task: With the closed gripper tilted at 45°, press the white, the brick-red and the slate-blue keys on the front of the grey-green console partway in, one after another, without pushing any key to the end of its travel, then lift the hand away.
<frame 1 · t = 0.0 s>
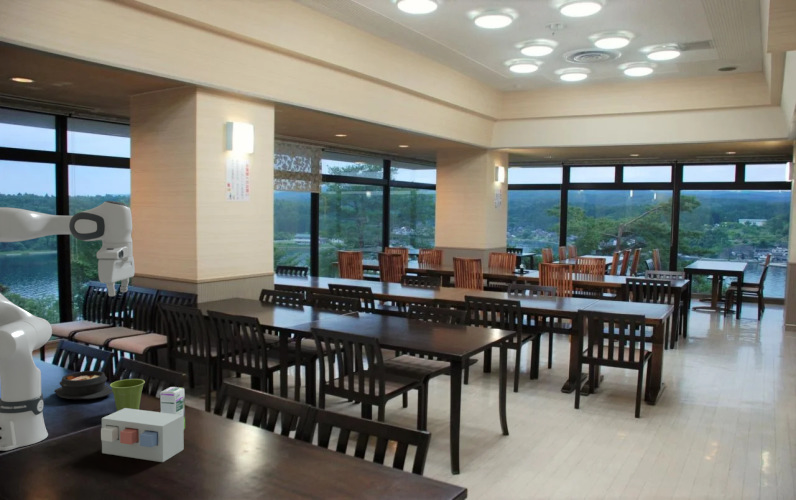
hand: (118, 293, 189), 48 cm above the table, tool pointing down, fingers open, 8 cm apart
key console: (143, 451, 182), on the table
syrup box: (173, 431, 199), on the table
plant pot: (127, 413, 216), on the table
blue key: (149, 439, 174), point 7 cm above the table, slide at 0.0 cm
red key: (129, 436, 176), point 7 cm above the table, slide at 0.0 cm
white key: (110, 433, 178), point 7 cm above the table, slide at 0.0 cm
casserole: (84, 396, 235), on the table
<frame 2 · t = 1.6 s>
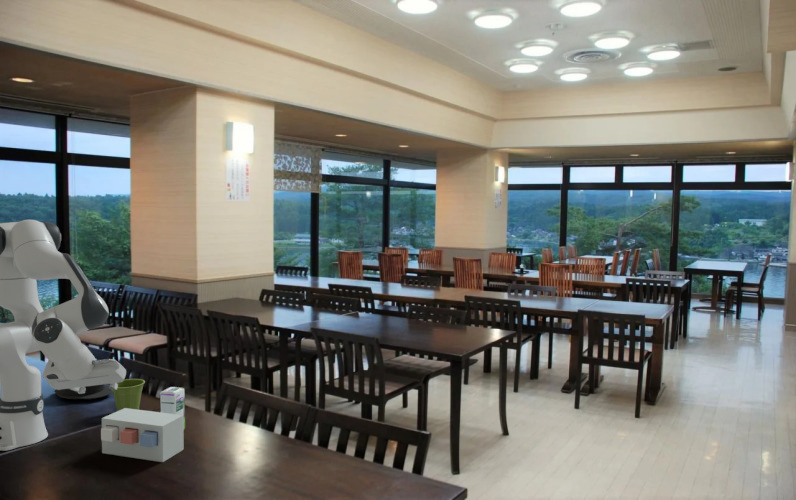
hand: (99, 389, 170), 23 cm above the table, tool tilted 40°, fingers open, 8 cm apart
nothing on the table moved.
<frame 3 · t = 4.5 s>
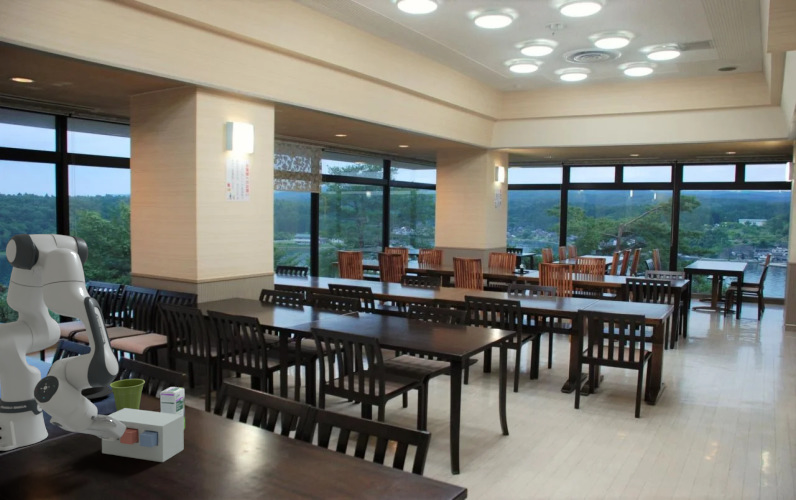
hand: (105, 436, 176), 7 cm above the table, tool tilted 45°, fingers closed, pressing on white key
white key: (111, 433, 178), point 7 cm above the table, slide at 0.4 cm, touching gripper
everything else where it was.
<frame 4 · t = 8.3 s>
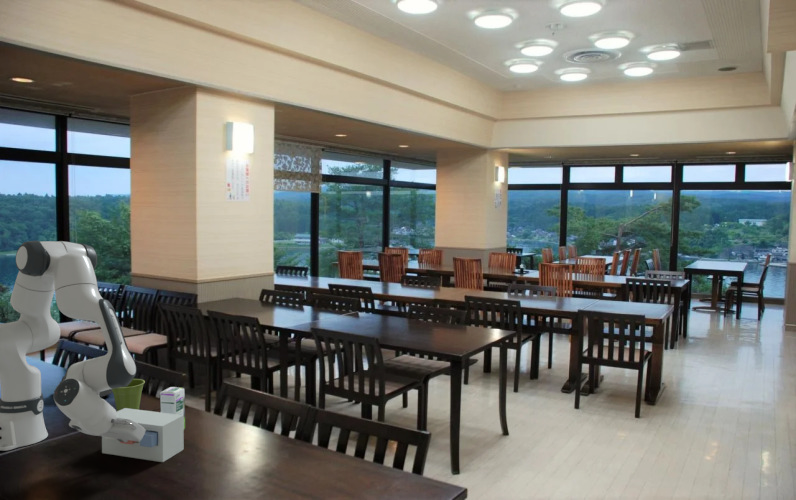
hand: (124, 439, 174), 7 cm above the table, tool tilted 45°, fingers closed, pressing on red key
red key: (129, 436, 176), point 7 cm above the table, slide at 0.0 cm, touching gripper
white key: (114, 431, 179), point 7 cm above the table, slide at 1.7 cm
everything else where it was.
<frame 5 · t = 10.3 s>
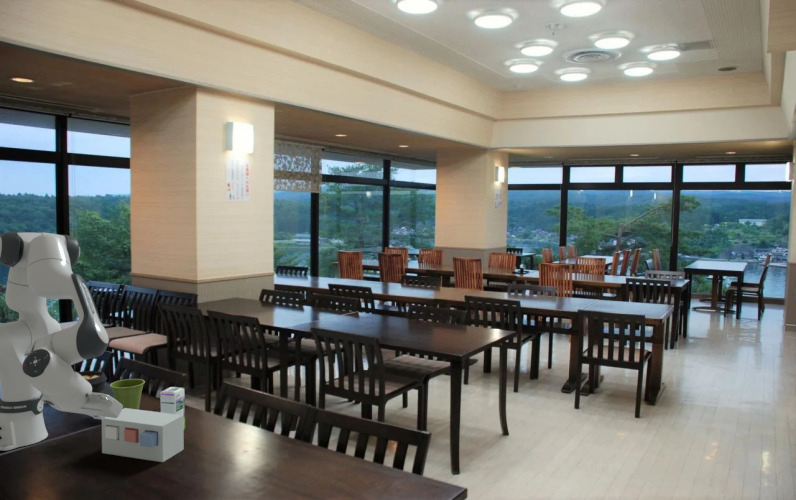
hand: (101, 416, 164), 17 cm above the table, tool tilted 45°, fingers closed
red key: (133, 434, 177), point 7 cm above the table, slide at 1.7 cm
everything else where it was.
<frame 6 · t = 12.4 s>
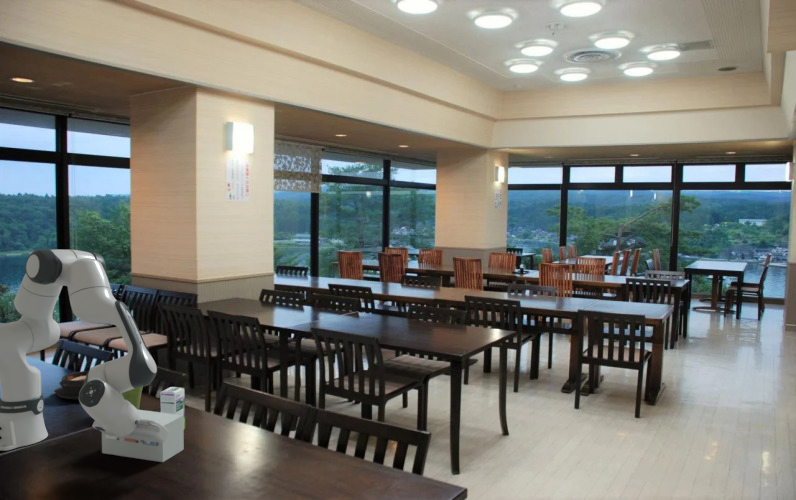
hand: (146, 440, 173), 7 cm above the table, tool tilted 45°, fingers closed, pressing on blue key
blue key: (151, 437, 175), point 7 cm above the table, slide at 1.2 cm, touching gripper
everything else where it was.
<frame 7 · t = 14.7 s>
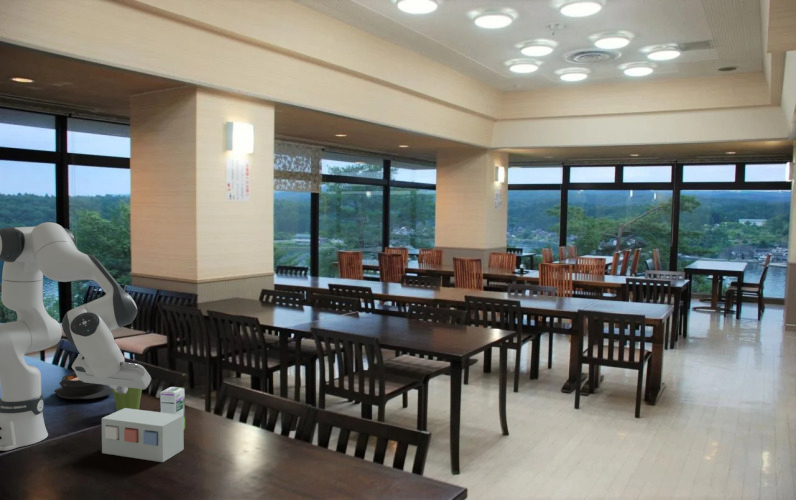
hand: (122, 390, 169), 23 cm above the table, tool tilted 40°, fingers closed
blue key: (152, 437, 175), point 7 cm above the table, slide at 1.6 cm
everything else where it was.
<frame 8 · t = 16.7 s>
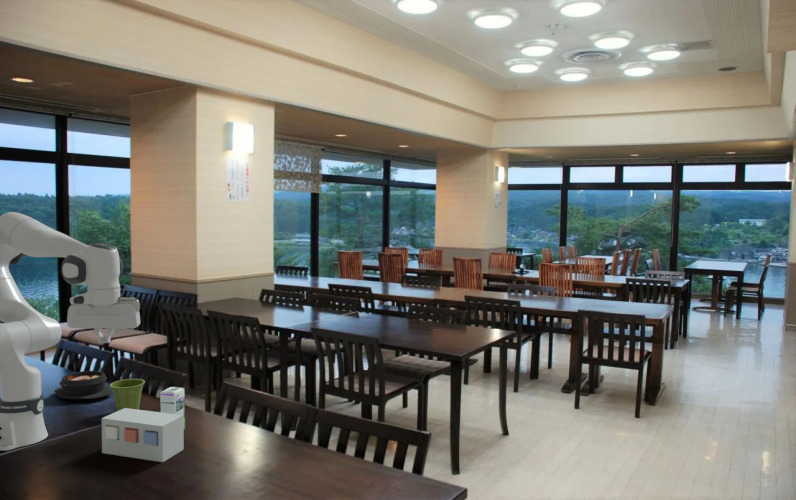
hand: (104, 342, 176), 35 cm above the table, tool pointing down, fingers closed
nothing on the table moved.
at the end: white key slide at 1.7 cm; red key slide at 1.7 cm; blue key slide at 1.6 cm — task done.
